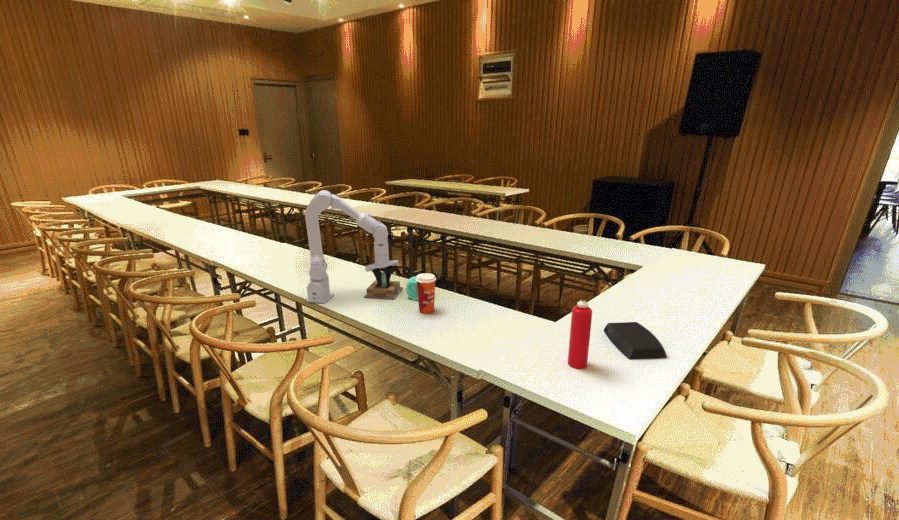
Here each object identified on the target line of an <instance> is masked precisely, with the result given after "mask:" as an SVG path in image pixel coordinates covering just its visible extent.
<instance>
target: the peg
mask: <svg viewBox="0 0 899 520" xmlns="http://www.w3.org/2000/svg"><path fill="white" fill-rule="evenodd" d="M381 272H382V274H381V283H382V284H381V286H380V288H387V278H386V272H384V271H381Z"/></svg>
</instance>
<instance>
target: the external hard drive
mask: <svg viewBox="0 0 899 520" xmlns="http://www.w3.org/2000/svg"><path fill="white" fill-rule="evenodd" d="M603 332H604V334H605V336H606V337H607V338H608V340H610V342H611V343H612V345H614V346H615V348H616V349H617V350H618V351H619V352H620V353H621V354H622V355H623V356H624V357H625V358H627V359H628V360H651V359H652V360H653V359H654V360H655V359H657V360H658V359H668V356H667V352H666V351H665V347H664V346H663V344H662V342H661V341H660V340H659V339H658V337H657V336H656V335H654V334H653V333H652V331H650V330H649V329H648V328H647V327H645V326H643V324H640V323H639V322H637V321H630V322H627V321H626V322H623V321H622V322H607V324H606V325H605V326H604V328H603Z"/></svg>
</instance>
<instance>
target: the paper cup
mask: <svg viewBox="0 0 899 520" xmlns="http://www.w3.org/2000/svg"><path fill="white" fill-rule="evenodd" d="M416 276H417V278H416V281H417V292H418V301H417V302H418V310H419V313H421V314H432V313H434V311H435V296H436V280H437V278H436V276H435V274H433V273H429V272H428V273H427V272H424V273H419V274H417V275H416Z"/></svg>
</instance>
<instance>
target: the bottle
mask: <svg viewBox="0 0 899 520" xmlns="http://www.w3.org/2000/svg"><path fill="white" fill-rule="evenodd" d="M576 303H577V304H576V305H574V306H573V307H572V309H571V320H570V331H569V341H568V342H569V344H568V355H567V365H568V366H569V367H571V368H572V369H577V370H583V369H586V368H587V367H588V360H589V349H590V341H591V339H590V337H591V331H592V330H591V329H592V328H591V326H592V320H593V309H592V308H591V307H589V303H588V302H587V301H586V300H585V299H580V300H579V301H577V302H576Z"/></svg>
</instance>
